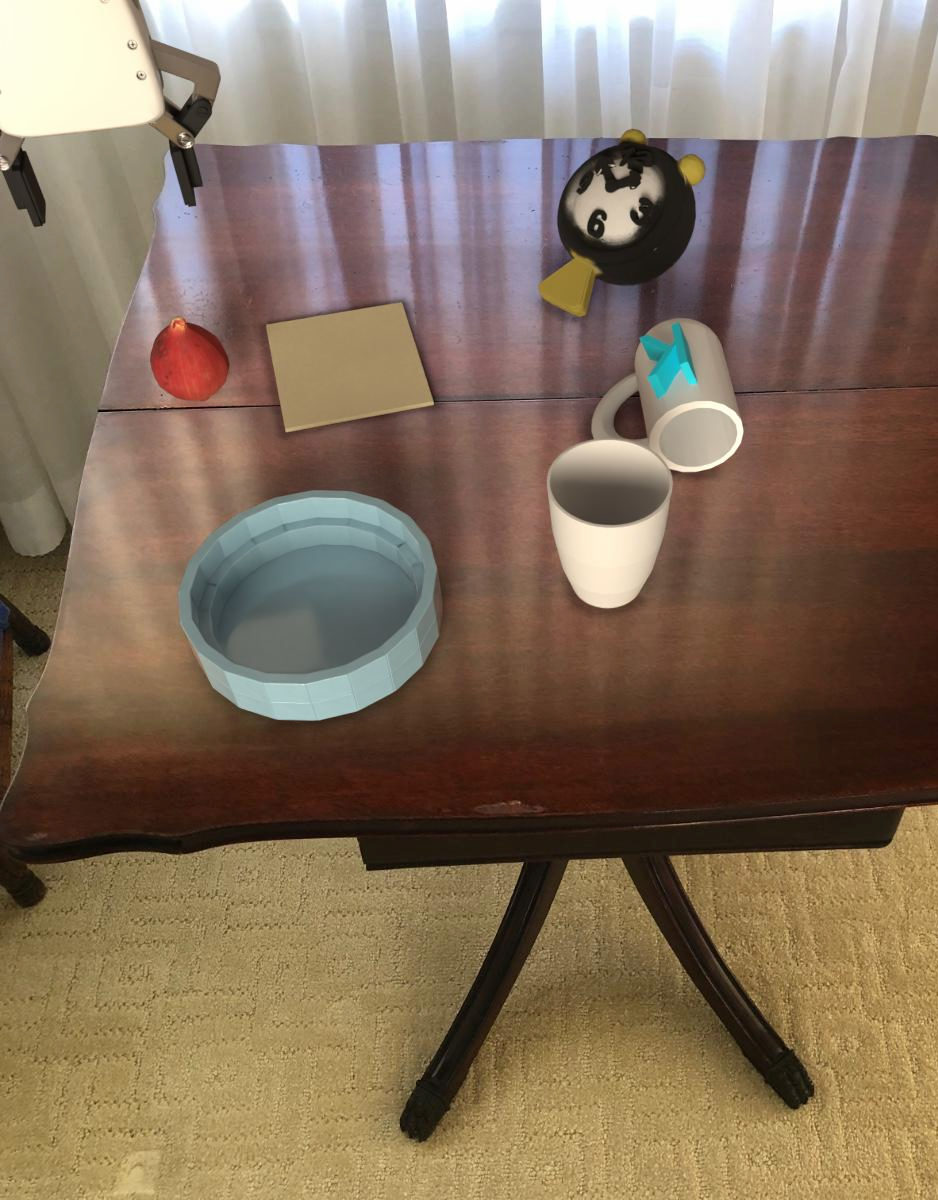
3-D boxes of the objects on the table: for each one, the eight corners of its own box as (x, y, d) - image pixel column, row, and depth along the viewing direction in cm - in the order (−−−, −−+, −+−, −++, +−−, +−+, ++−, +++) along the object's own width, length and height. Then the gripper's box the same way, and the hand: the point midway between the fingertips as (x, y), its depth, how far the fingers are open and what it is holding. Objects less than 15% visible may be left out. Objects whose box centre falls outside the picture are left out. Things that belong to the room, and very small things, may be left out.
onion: (175, 431, 88) (144, 350, 81) (158, 388, 91) (127, 307, 85) (247, 409, 89) (222, 328, 83) (227, 368, 93) (202, 287, 86)
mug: (693, 269, 85) (719, 368, 78) (728, 353, 92) (754, 452, 85) (556, 325, 88) (567, 426, 81) (599, 403, 95) (614, 503, 87)
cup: (673, 549, 80) (683, 449, 73) (651, 635, 75) (659, 537, 68) (565, 530, 81) (564, 429, 74) (537, 613, 76) (532, 514, 69)
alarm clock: (537, 294, 106) (537, 125, 100) (687, 297, 107) (697, 129, 100) (538, 318, 95) (538, 130, 89) (704, 321, 96) (716, 135, 90)
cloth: (286, 432, 88) (284, 428, 87) (266, 328, 96) (265, 324, 96) (434, 405, 90) (433, 401, 90) (402, 305, 98) (402, 301, 98)
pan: (207, 751, 69) (187, 711, 66) (189, 560, 79) (171, 517, 76) (465, 689, 72) (459, 648, 69) (417, 513, 82) (409, 470, 79)
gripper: (177, -112, 65) (241, 162, 78) (-142, -89, 62) (-19, 195, 75) (186, -65, 61) (252, 217, 74) (-159, -38, 57) (-25, 255, 70)
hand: (116, 206), depth 74 cm, fingers open, 9 cm apart
